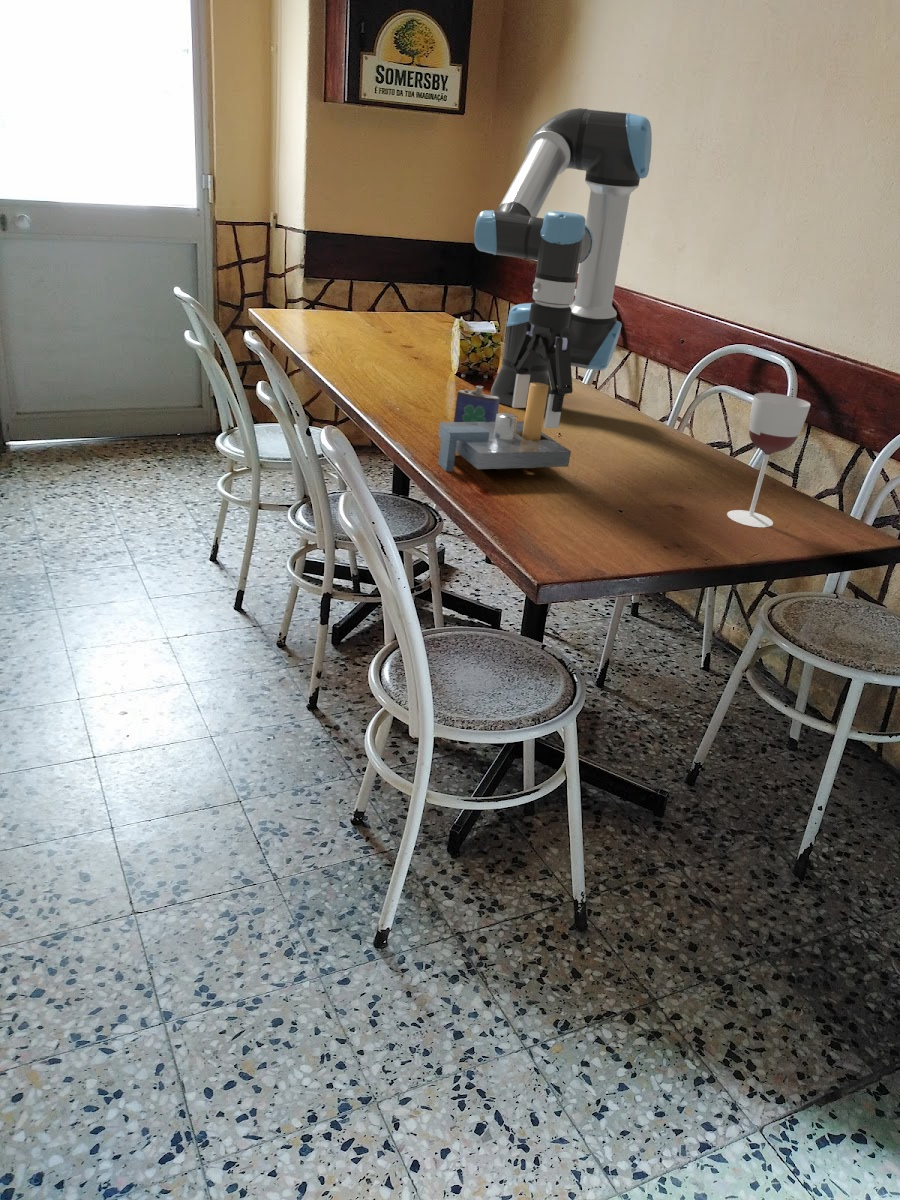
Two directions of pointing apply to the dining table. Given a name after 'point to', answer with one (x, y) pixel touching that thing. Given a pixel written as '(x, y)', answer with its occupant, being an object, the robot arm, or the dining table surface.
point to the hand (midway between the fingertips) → (534, 417)
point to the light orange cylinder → (535, 411)
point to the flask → (476, 406)
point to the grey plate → (498, 445)
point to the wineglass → (771, 440)
